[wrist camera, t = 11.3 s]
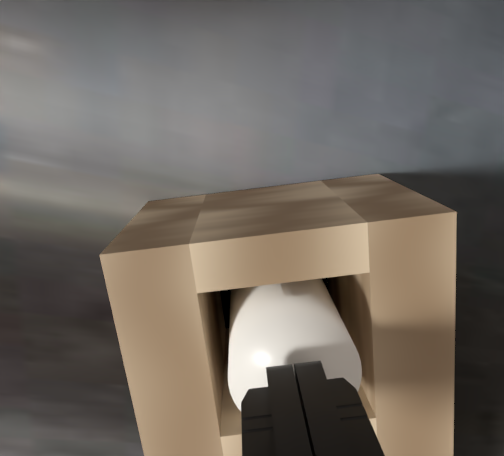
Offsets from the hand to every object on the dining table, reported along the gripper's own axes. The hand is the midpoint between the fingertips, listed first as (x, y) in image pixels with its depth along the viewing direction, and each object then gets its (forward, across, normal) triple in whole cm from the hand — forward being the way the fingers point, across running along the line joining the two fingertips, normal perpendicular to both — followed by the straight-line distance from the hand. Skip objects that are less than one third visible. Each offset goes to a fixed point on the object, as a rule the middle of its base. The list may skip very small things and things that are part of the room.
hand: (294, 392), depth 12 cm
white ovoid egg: (+8, 0, 0) cm, 8 cm away
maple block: (+8, 0, +7) cm, 11 cm away
